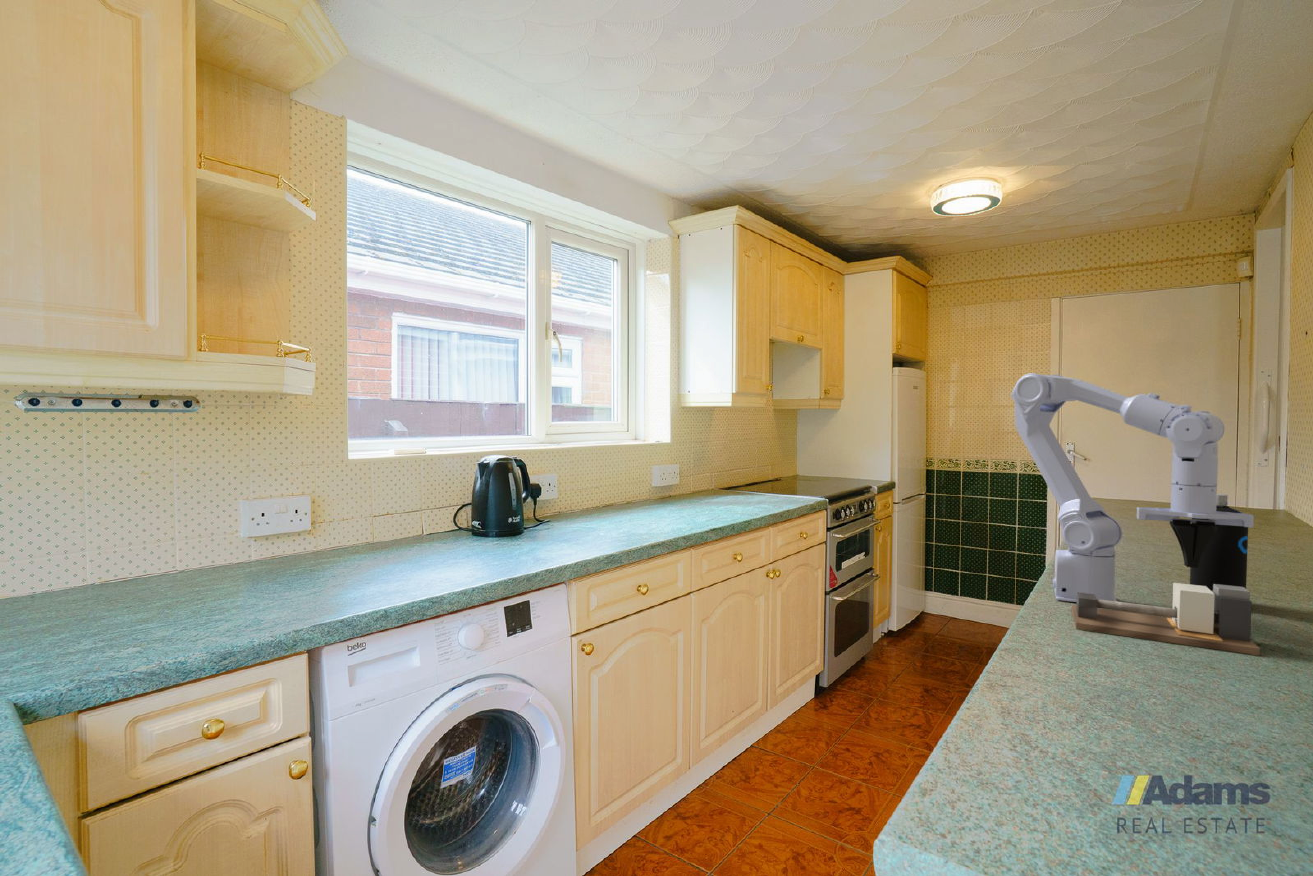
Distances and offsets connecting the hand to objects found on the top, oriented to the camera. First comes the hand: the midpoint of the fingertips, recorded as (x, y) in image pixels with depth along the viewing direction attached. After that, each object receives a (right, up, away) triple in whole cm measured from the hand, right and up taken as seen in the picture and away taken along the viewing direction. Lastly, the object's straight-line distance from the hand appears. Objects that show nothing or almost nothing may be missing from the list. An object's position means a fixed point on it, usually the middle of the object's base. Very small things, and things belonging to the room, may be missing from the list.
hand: (1191, 566), depth 103 cm
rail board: (-9, -10, -4) cm, 14 cm away
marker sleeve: (-5, -8, -6) cm, 11 cm away
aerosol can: (+15, -9, +11) cm, 21 cm away
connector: (-1, -10, -8) cm, 13 cm away
